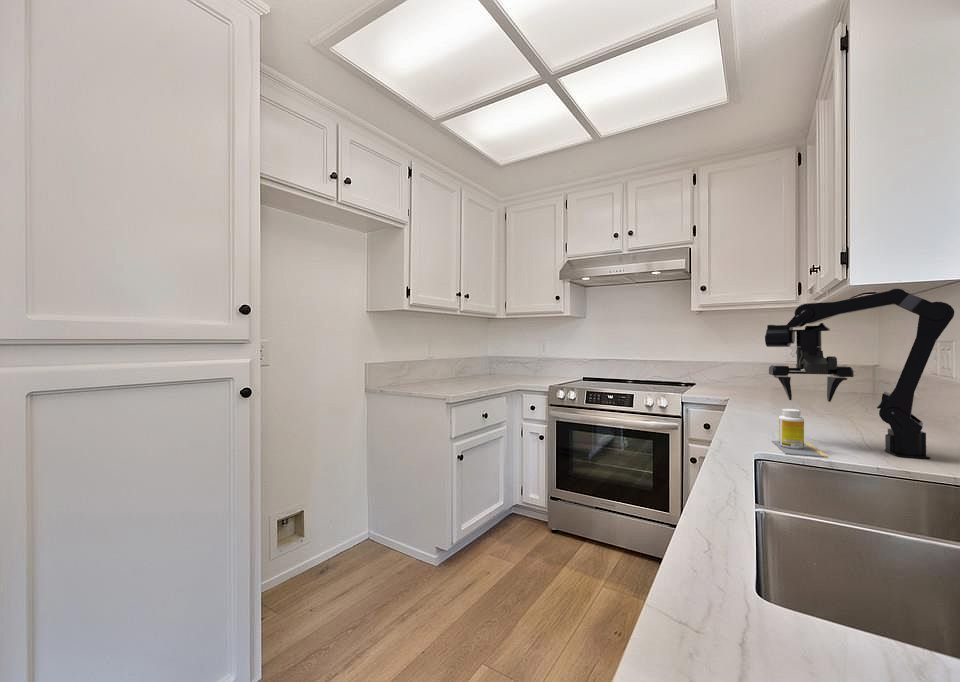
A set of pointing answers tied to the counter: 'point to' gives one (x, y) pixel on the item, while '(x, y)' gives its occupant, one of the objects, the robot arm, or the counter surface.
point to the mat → (802, 450)
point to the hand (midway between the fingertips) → (809, 400)
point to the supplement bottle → (791, 429)
